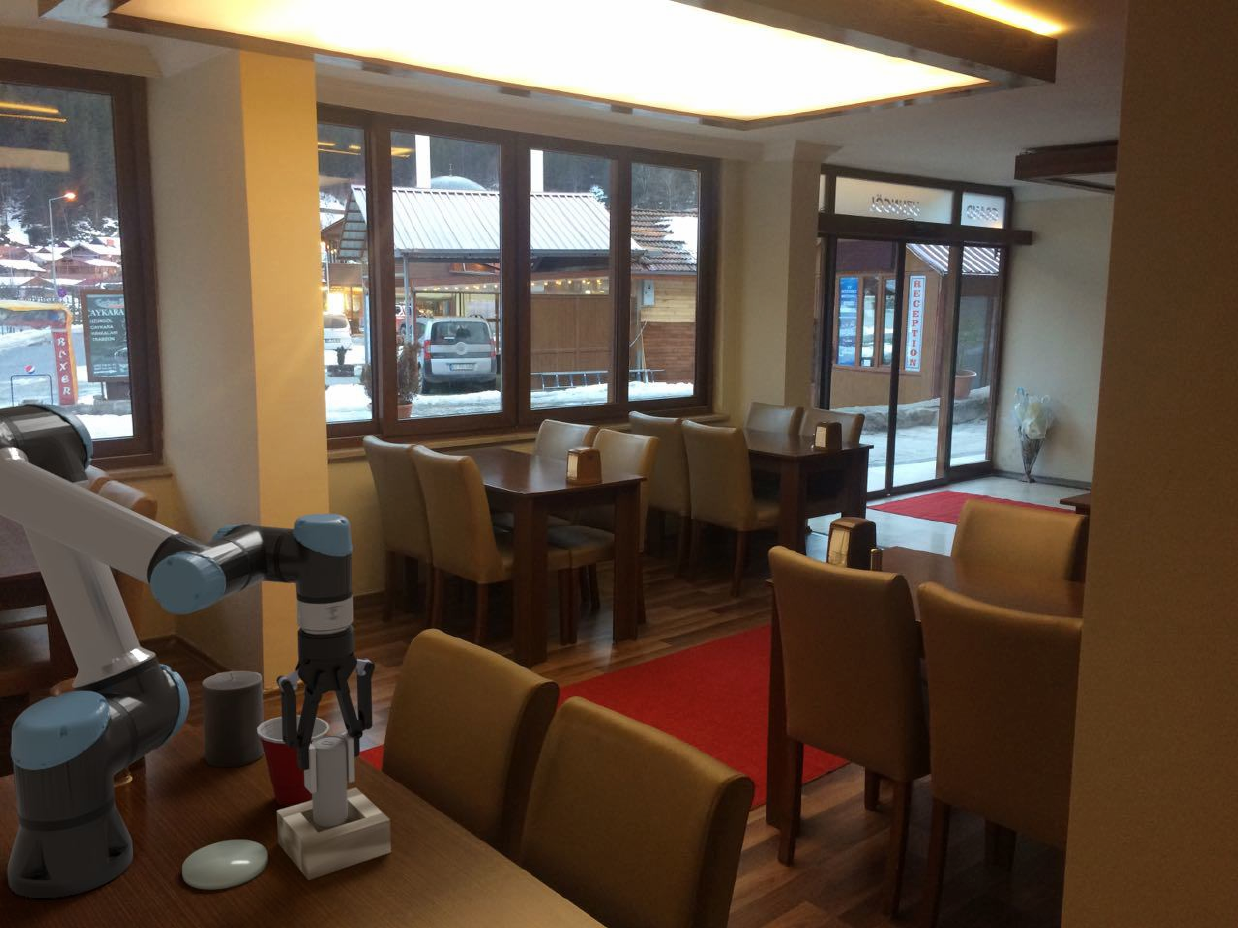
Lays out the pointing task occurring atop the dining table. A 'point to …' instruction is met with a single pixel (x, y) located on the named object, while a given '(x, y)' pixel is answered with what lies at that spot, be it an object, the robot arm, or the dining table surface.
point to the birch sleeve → (333, 836)
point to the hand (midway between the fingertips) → (329, 783)
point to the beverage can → (330, 782)
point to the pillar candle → (232, 718)
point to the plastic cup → (286, 761)
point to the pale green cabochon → (224, 864)
